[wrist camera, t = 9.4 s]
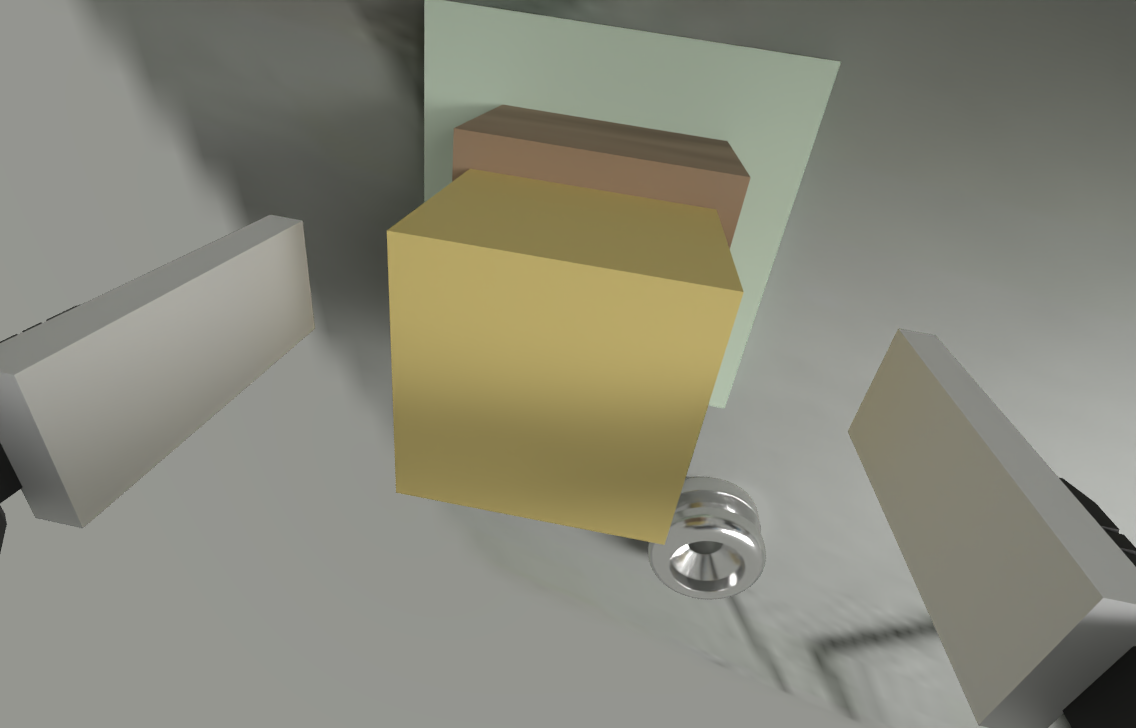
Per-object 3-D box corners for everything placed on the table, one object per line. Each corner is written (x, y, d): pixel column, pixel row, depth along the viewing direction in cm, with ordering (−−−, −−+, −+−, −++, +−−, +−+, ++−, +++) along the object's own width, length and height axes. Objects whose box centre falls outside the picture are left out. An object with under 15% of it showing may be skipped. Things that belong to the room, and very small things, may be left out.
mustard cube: (469, 168, 14) (386, 230, 10) (716, 209, 14) (743, 292, 9) (462, 375, 17) (396, 492, 13) (662, 412, 17) (664, 544, 12)
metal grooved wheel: (639, 481, 26) (658, 557, 29) (637, 529, 24) (658, 608, 26) (752, 470, 25) (762, 550, 27) (763, 519, 23) (773, 603, 25)
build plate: (437, -1, 18) (424, -3, 17) (830, 59, 17) (841, 61, 16) (433, 338, 24) (423, 352, 23) (721, 391, 23) (724, 408, 22)
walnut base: (502, 104, 18) (453, 128, 13) (727, 141, 17) (750, 177, 13) (489, 307, 21) (446, 377, 17) (675, 340, 21) (679, 420, 17)
